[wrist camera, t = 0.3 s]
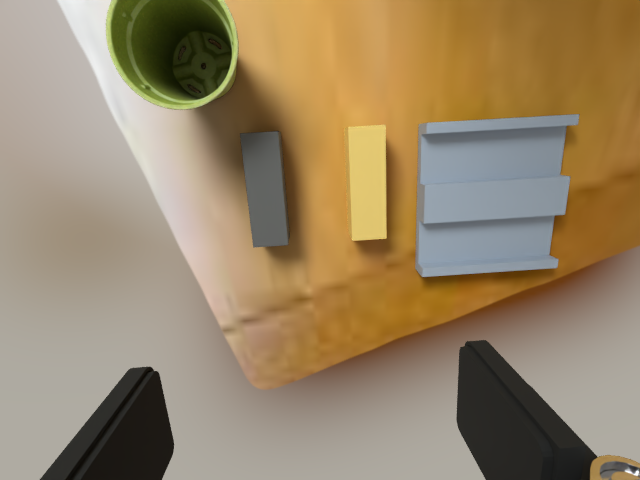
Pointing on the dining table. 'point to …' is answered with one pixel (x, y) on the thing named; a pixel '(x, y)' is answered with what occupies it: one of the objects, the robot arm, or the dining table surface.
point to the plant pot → (173, 49)
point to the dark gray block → (265, 188)
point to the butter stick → (366, 181)
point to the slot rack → (489, 194)
